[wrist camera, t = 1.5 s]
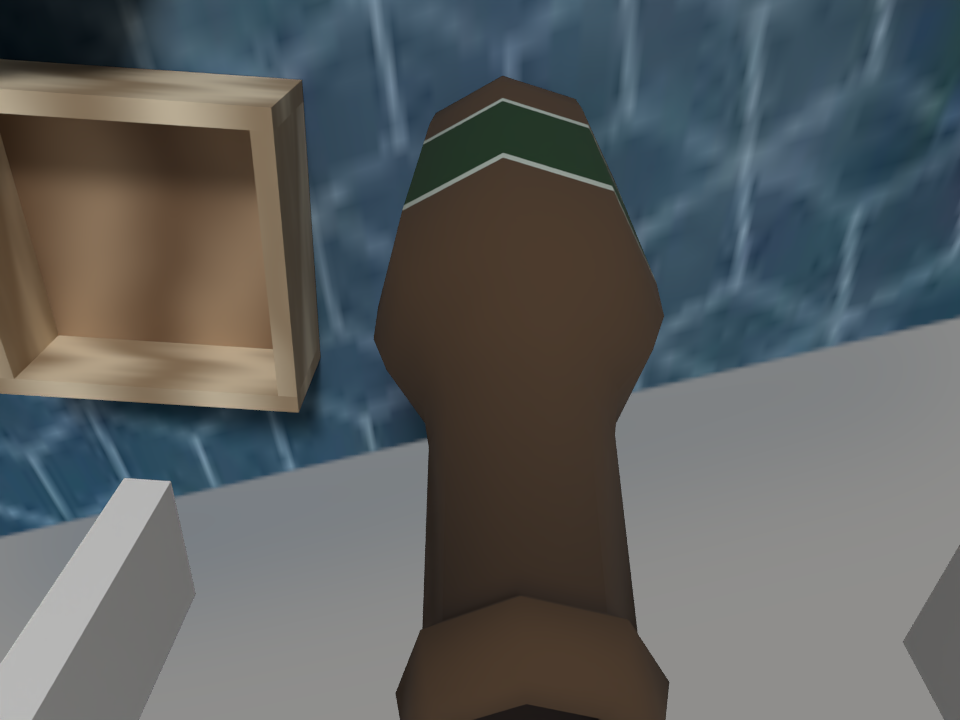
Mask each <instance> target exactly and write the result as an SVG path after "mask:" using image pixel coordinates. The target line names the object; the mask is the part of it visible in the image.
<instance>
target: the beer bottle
mask: <svg viewBox="0 0 960 720" xmlns="http://www.w3.org/2000/svg"><path fill="white" fill-rule="evenodd" d="M663 317H664V314H663V310H662V306H661V301H660V297H659V293H658V288H657V284H656V281H655V279H654V276H653V274H652V272H651V269H650V267H649V264H648V262H647V259H646V257H645V254H644V252H643V249H642V247H641V245H640V242H639V240H638V237H637V235H636V232H635V230H634V227H633V225H632V223H631V220H630V218H629V215H628V213H627V210H626V208H625V205H624V203H623V200H622V198H621V196H620V193H619V191H618V188H617V186H616V183H615V181H614V179H613V176H612V174H611V172H610V170H609V168H608V165H607V163H606V161H605V159H604V157H603V154H602V152H601V150H600V148H599V145H598V143H597V141H596V139H595V137H594V134H593V132H592V130H591V128H590V126H589V123H588V121H587V119H586V117H585V115H584V112H583V110H582V108H581V107H580V105H579V104H578V102H577V101H576V99H573V98H570V97H567V96H564V95H561V94H558V93H555V92H552V91H548V90H545V89H542V88H539V87H536V86H533V85H530V84H526V83H523V82H520V81H517V80H514V79H511V78H508V77H505V76H501V77H500V78H498V79H496V80H494V81H492V82H491V83H489V84H487V85H485V86H484V87H482V88H480V89H478V90H476V91H475V92H473V93H471V94H469V95H468V96H466V97H464V98H462V99H460V100H459V101H457V102H455V103H453V104H452V105H450V106H448V107H446V108H444V109H443V110H441V111H439V112H437V113H436V114H435V116H434V117H433V119H432V121H431V122H430V125H429V128H428V131H427V134H426V138H425V141H424V144H423V147H422V150H421V153H420V157H419V160H418V163H417V166H416V169H415V172H414V176H413V179H412V182H411V185H410V188H409V191H408V194H407V198H406V201H405V204H404V207H403V210H402V214H401V218H400V222H399V226H398V230H397V234H396V238H395V242H394V246H393V250H392V254H391V258H390V262H389V266H388V270H387V274H386V278H385V282H384V286H383V290H382V294H381V298H380V302H379V306H378V312H377V319H376V326H375V334H374V341H375V343H376V346H377V348H378V350H379V353H380V355H381V358H382V360H383V362H384V365H385V367H386V370H387V371H388V372H389V374H390V375H391V377H392V378H393V379H394V381H395V382H396V384H397V385H398V386H399V388H400V389H401V390H402V392H403V393H404V395H405V396H406V397H407V399H408V400H409V402H410V403H411V404H412V406H413V407H414V408H415V410H416V411H417V413H418V414H419V415H420V417H421V418H422V420H423V421H424V422H425V425H426V432H427V438H428V444H429V460H428V488H427V517H426V545H425V547H426V548H425V572H424V574H425V575H424V601H423V602H424V603H423V629H422V630H420V633H419V635H418V638H417V640H416V643H415V645H414V648H413V651H412V653H411V656H410V658H409V661H408V663H407V666H406V668H405V671H404V673H403V676H402V678H401V681H400V683H399V687H398V688H397V691H396V698H397V704H398V710H399V716H400V720H665V719H666V709H667V699H668V689H669V681H668V679H667V678H666V676H665V675H664V673H663V672H662V670H661V669H660V667H659V666H658V664H657V663H656V661H655V660H654V658H653V657H652V655H651V653H650V652H649V650H648V649H647V647H646V646H645V644H644V643H643V641H642V640H641V638H640V637H639V635H638V633H637V625H636V616H635V607H634V599H633V589H632V581H631V572H630V563H629V555H628V545H627V537H626V528H625V519H624V510H623V502H622V494H621V484H620V475H619V467H618V458H617V449H616V440H615V427H616V422H617V420H618V418H619V416H620V414H621V412H622V410H623V408H624V406H625V404H626V402H627V400H628V398H629V396H630V394H631V392H632V390H633V388H634V386H635V384H636V382H637V380H638V378H639V376H640V374H641V372H642V370H643V368H644V366H645V364H646V362H647V360H648V358H649V356H650V354H651V352H652V350H653V348H654V345H655V342H656V339H657V336H658V332H659V329H660V326H661V323H662V320H663Z"/></svg>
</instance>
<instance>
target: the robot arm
mask: <svg viewBox="0 0 960 720" xmlns="http://www.w3.org/2000/svg"><path fill="white" fill-rule="evenodd" d="M195 594H196V593H195V588H194V584H193V579H192V575H191V570H190V566H189V561H188V557H187V553H186V548H185V543H184V539H183V534H182V530H181V525H180V521H179V516H178V512H177V507H176V503H175V498H174V493H173V489H172V484H171V481H158V480H143V479H129V478H124V479H123V481H122V482H121V484H120V485H119V487H118V488H117V490H116V491H115V493H114V494H113V496H112V497H111V499H110V500H109V502H108V503H107V505H106V506H105V508H104V509H103V511H102V512H101V514H100V515H99V517H98V518H97V520H96V521H95V523H94V524H93V526H92V528H91V529H90V530H89V532H88V533H87V535H86V536H85V538H84V539H83V541H82V543H81V544H80V545H79V547H78V548H77V550H76V551H75V553H74V555H73V556H72V558H71V559H70V560H69V562H68V563H67V565H66V566H65V568H64V569H63V571H62V572H61V574H60V575H59V577H58V578H57V580H56V581H55V583H54V584H53V586H52V588H51V589H50V590H49V592H48V593H47V595H46V596H45V598H44V599H43V601H42V602H41V604H40V605H39V607H38V608H37V610H36V611H35V613H34V614H33V616H32V617H31V619H30V620H29V622H28V623H27V625H26V626H25V628H24V629H23V631H22V632H21V634H20V636H19V637H18V638H17V640H16V641H15V643H14V644H13V646H12V647H11V649H10V651H9V652H8V653H7V655H6V657H5V658H4V659H3V661H2V662H1V664H0V720H139V718H140V716H141V714H142V712H143V709H144V707H145V705H146V703H147V701H148V698H149V696H150V694H151V692H152V689H153V687H154V685H155V683H156V680H157V678H158V676H159V674H160V672H161V669H162V667H163V665H164V663H165V661H166V659H167V656H168V654H169V652H170V650H171V647H172V645H173V643H174V641H175V639H176V636H177V634H178V632H179V630H180V627H181V625H182V623H183V621H184V619H185V616H186V614H187V612H188V610H189V608H190V605H191V603H192V601H193V599H194V597H195ZM903 643H904V645H905V647H906V649H907V651H908V653H909V654H910V656H911V658H912V660H913V662H914V664H915V665H916V667H917V669H918V671H919V673H920V675H921V677H922V679H923V681H924V682H925V684H926V686H927V688H928V690H929V692H930V694H931V696H932V698H933V699H934V701H935V703H936V705H937V707H938V709H939V711H940V713H941V715H942V716H943V718H944V720H960V545H959V547H958V549H957V550H956V552H955V554H954V556H953V557H952V559H951V561H950V562H949V564H948V566H947V568H946V570H945V571H944V573H943V575H942V576H941V578H940V579H939V581H938V583H937V585H936V586H935V588H934V590H933V591H932V593H931V595H930V597H929V598H928V600H927V602H926V603H925V605H924V607H923V608H922V610H921V612H920V614H919V615H918V617H917V619H916V620H915V622H914V624H913V625H912V627H911V629H910V631H909V632H908V634H907V636H906V637H905V639H904V641H903Z"/></svg>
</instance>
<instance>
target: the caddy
mask: <svg viewBox="0 0 960 720" xmlns="http://www.w3.org/2000/svg"><path fill="white" fill-rule="evenodd" d="M319 360H320V344H319V329H318V314H317V299H316V284H315V269H314V254H313V239H312V224H311V209H310V194H309V179H308V164H307V149H306V134H305V119H304V104H303V89H302V80H295V79H280V78H266V77H252V76H237V75H223V74H208V73H194V72H180V71H165V70H151V69H136V68H122V67H108V66H93V65H79V64H64V63H50V62H36V61H21V60H7V59H0V393H1V394H17V395H32V396H48V397H64V398H79V399H95V400H111V401H126V402H142V403H157V404H173V405H189V406H204V407H220V408H235V409H251V410H267V411H282V412H298V413H299V410H300V408H301V405H302V403H303V400H304V398H305V395H306V393H307V390H308V388H309V385H310V383H311V380H312V378H313V375H314V372H315V370H316V367H317V365H318V362H319Z"/></svg>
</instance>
